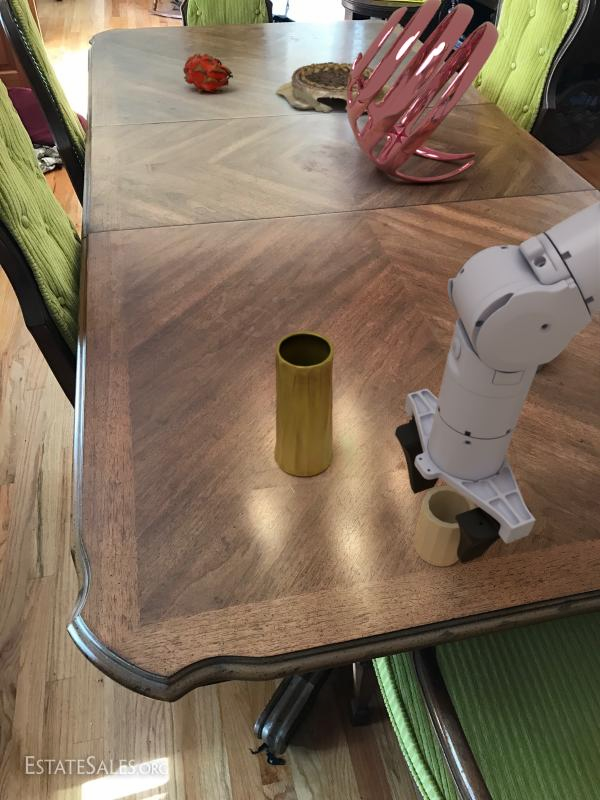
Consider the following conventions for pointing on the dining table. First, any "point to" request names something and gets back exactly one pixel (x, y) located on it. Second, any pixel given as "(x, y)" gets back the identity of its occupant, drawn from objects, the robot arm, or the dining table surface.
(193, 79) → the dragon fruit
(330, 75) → the pie
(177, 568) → the dining table surface
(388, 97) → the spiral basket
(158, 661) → the dining table surface
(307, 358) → the vase
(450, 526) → the cup
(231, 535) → the dining table surface
